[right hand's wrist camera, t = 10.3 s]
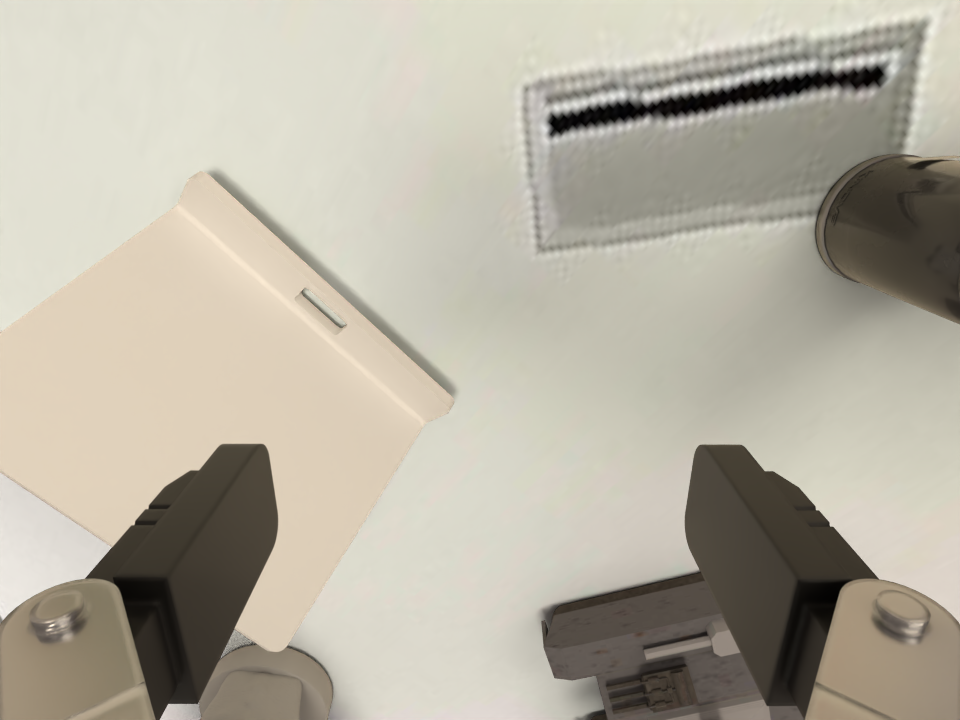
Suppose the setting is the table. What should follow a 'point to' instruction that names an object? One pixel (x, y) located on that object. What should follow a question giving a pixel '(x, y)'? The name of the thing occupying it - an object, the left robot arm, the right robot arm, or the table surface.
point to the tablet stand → (211, 392)
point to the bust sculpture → (266, 687)
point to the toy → (658, 655)
